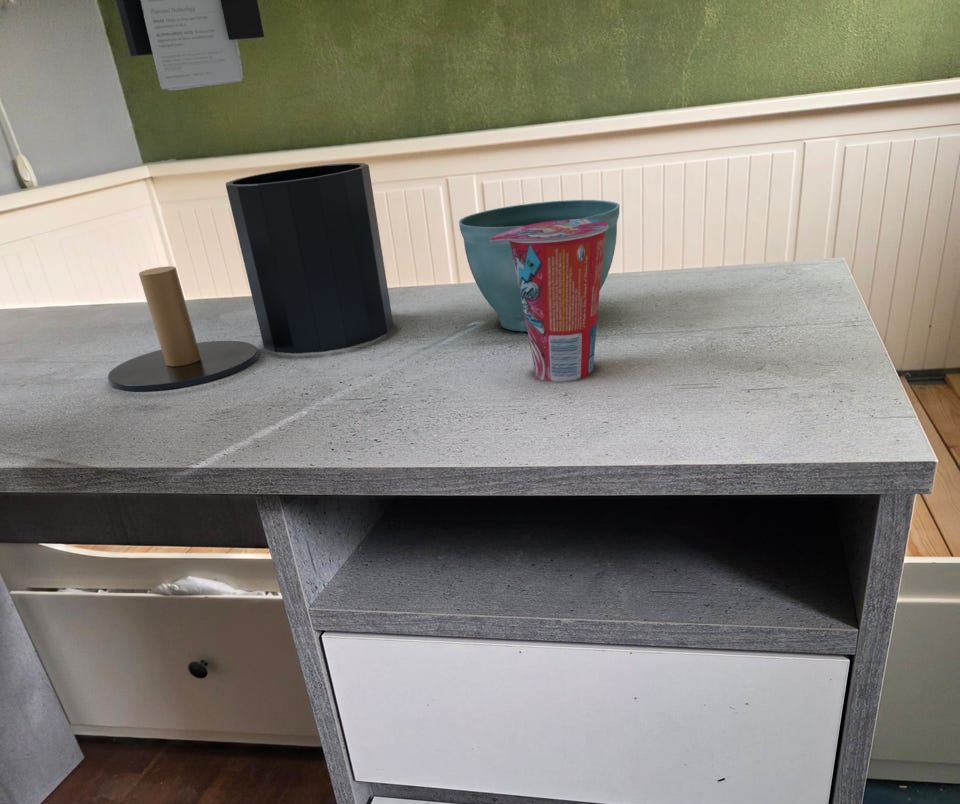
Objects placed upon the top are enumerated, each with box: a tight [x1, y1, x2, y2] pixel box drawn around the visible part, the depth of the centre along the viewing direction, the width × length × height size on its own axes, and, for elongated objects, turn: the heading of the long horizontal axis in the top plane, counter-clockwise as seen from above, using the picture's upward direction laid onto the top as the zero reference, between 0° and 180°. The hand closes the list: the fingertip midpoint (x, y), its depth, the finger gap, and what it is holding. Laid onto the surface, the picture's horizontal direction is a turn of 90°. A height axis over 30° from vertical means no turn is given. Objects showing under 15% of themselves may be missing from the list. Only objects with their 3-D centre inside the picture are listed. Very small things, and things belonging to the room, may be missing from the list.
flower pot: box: [458, 199, 621, 333], centre depth 91 cm, size 16×16×11 cm
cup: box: [489, 219, 608, 383], centre depth 75 cm, size 9×8×12 cm
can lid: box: [107, 265, 260, 392], centre depth 90 cm, size 15×15×10 cm
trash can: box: [225, 162, 394, 355], centre depth 93 cm, size 14×14×16 cm
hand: (195, 46), depth 63 cm, fingers closed on cosmetic box, 10 cm apart
